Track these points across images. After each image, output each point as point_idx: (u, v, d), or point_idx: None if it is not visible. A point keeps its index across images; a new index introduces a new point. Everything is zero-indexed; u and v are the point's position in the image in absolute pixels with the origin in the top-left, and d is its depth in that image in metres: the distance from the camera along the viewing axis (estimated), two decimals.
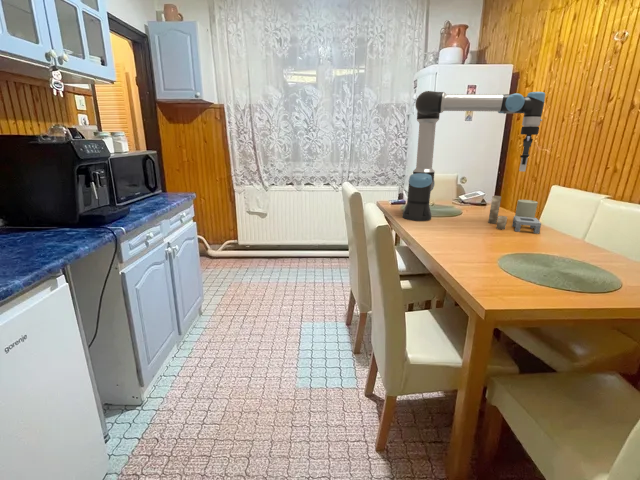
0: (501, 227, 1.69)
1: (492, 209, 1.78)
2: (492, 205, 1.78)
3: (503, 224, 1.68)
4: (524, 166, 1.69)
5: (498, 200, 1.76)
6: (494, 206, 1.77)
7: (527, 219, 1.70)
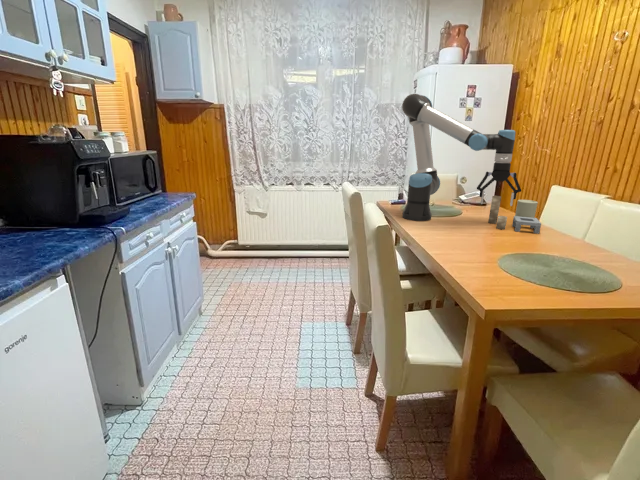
0: (501, 227, 1.69)
1: (492, 209, 1.78)
2: (492, 205, 1.78)
3: (503, 224, 1.68)
4: (481, 199, 1.80)
5: (498, 200, 1.76)
6: (494, 206, 1.77)
7: (527, 219, 1.70)
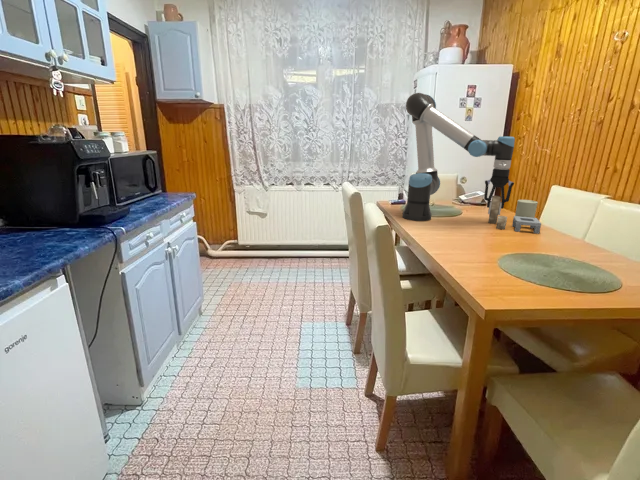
0: (501, 227, 1.69)
1: (492, 209, 1.78)
2: (492, 205, 1.78)
3: (503, 224, 1.68)
4: None
5: (498, 200, 1.76)
6: (494, 206, 1.77)
7: (527, 219, 1.70)
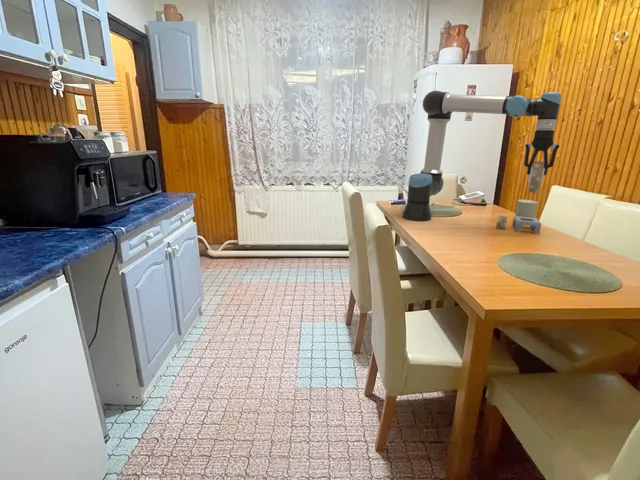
0: (501, 227, 1.69)
1: (533, 176, 1.61)
2: (533, 172, 1.61)
3: (503, 224, 1.68)
4: (529, 176, 1.62)
5: (541, 166, 1.59)
6: (536, 173, 1.60)
7: (527, 219, 1.70)
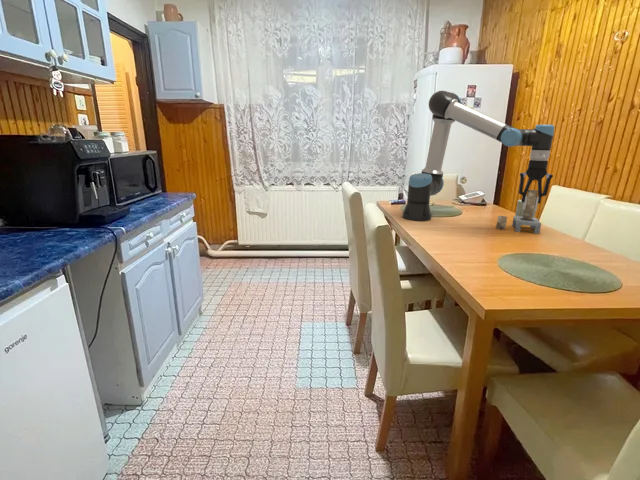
0: (501, 227, 1.69)
1: (528, 204, 1.65)
2: (528, 200, 1.64)
3: (503, 224, 1.68)
4: (524, 204, 1.66)
5: (535, 194, 1.62)
6: (530, 201, 1.64)
7: None
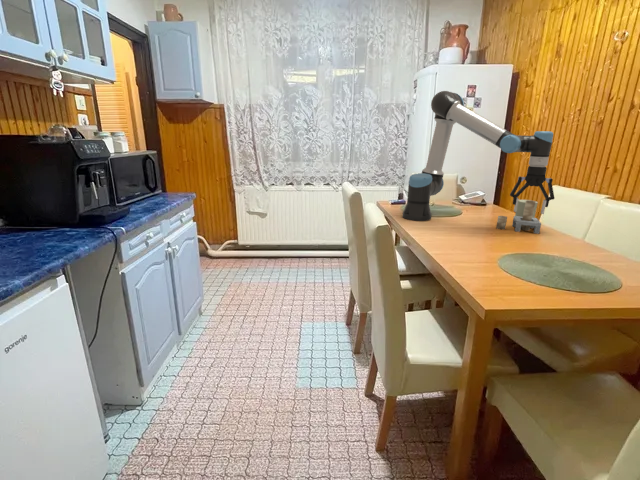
0: (501, 227, 1.69)
1: (525, 215, 1.66)
2: (525, 211, 1.66)
3: (503, 224, 1.68)
4: (515, 206, 1.68)
5: (532, 205, 1.64)
6: (528, 212, 1.65)
7: None
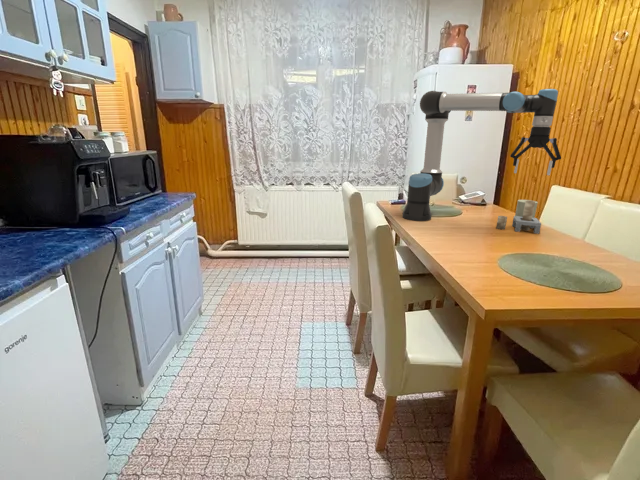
0: (501, 227, 1.69)
1: (525, 215, 1.66)
2: (525, 211, 1.66)
3: (503, 224, 1.68)
4: (515, 168, 1.64)
5: (532, 205, 1.64)
6: (527, 212, 1.65)
7: None
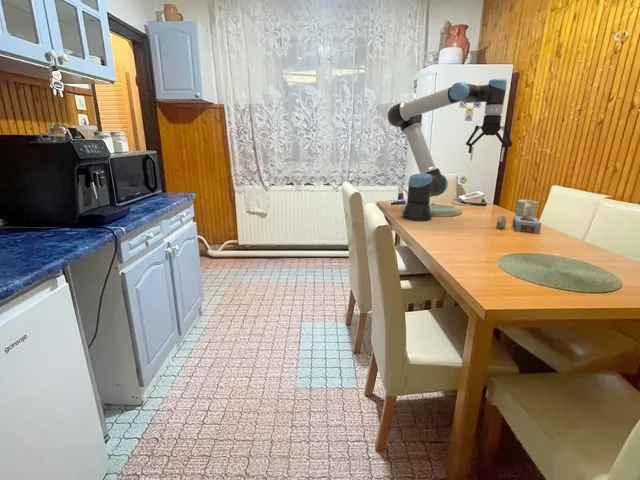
0: (501, 227, 1.69)
1: (525, 215, 1.66)
2: (525, 211, 1.66)
3: (503, 224, 1.68)
4: None
5: (532, 205, 1.64)
6: (527, 212, 1.65)
7: None
